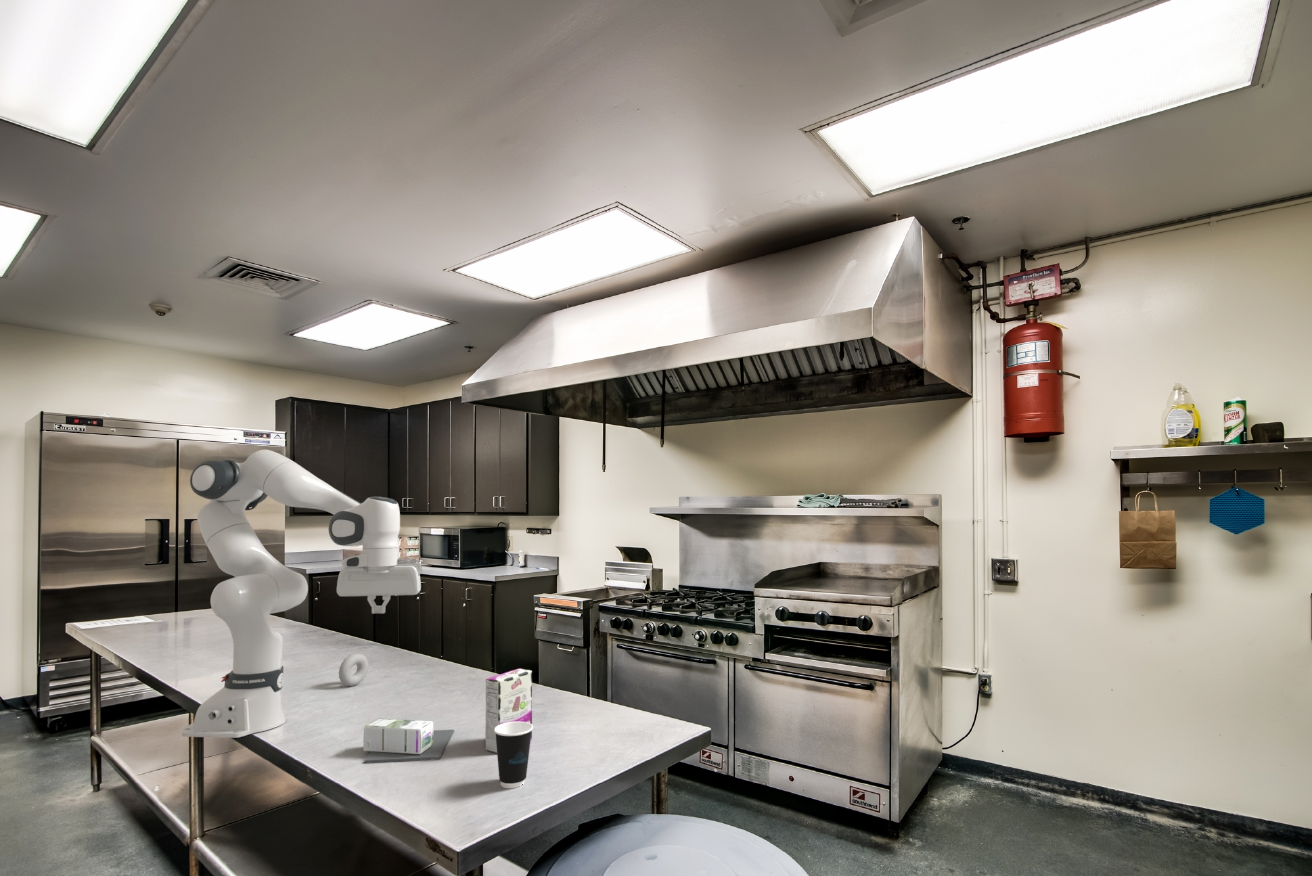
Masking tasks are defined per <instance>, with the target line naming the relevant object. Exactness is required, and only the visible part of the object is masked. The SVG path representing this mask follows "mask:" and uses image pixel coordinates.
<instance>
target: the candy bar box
mask: <svg viewBox="0 0 1312 876" xmlns="http://www.w3.org/2000/svg"><path fill="white" fill-rule="evenodd" d="M532 708H533V671H532V670H530V669H525V668H517V669H513V670H510V671H506V672H504V673H501V674H498V675H494V676H491V677H488V678H486V679H485V745H484V746H485V751H487V752H490V751H492V752H491V753H494V754H497V745H496V733H495V732H494V729H495V727H496V726H498V725H500V724H503V723H507V722H527V723H530V724H532V725H533V709H532ZM532 739H533V731H532V732H531V740H532Z"/></svg>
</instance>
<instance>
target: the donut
mask: <svg viewBox="0 0 1312 876" xmlns="http://www.w3.org/2000/svg"><path fill="white" fill-rule="evenodd" d="M354 665H356V671H355V672H354V673H353V674H352V673H351V671H352V667H354ZM368 671H369V661H368V659H367V657H366V656H365V655H364V654H362V653H356V652H355V653H352V654H349V655H348V656H346V658H344V659H343V660H342V662H341V663H340V666H339V669H338V678H339V680H340V682H341V683H342V684H343V685H344V686H346V687H354V686H357V685H359V684H360V683H362V681H364V679H366V677H367V674H368Z"/></svg>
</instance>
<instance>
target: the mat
mask: <svg viewBox="0 0 1312 876" xmlns="http://www.w3.org/2000/svg"><path fill="white" fill-rule="evenodd" d="M454 733H455V729H438V730H437V729H436V730H434V736H433V745H432V746H431V747H429V748H428V749H426V750H425V751H424V752H422V753H421V754H408V753H389V752H373V751H370V753H369V755H368V756H367V757H366V758H365V760H364V764H376V763H378V764H379V763H380V764H381V763H396V762H399V763H401V762H416V761H418V760H420V761H432V760H431V759H441V758H440V757H442V756H443V754H442V753H444V752H445V750H446V749H447V746H448V745H449V742H450V740H451V738H452V736H453V735H454ZM441 755H442V756H441ZM418 762H419V761H418Z"/></svg>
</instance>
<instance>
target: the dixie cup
mask: <svg viewBox="0 0 1312 876" xmlns="http://www.w3.org/2000/svg"><path fill="white" fill-rule="evenodd" d="M533 730H534V725H533V723H532V724H530V723H527V722H507V723H503V724H500V725H498V726H496V727H495V729H494V732H495V733H496V745H497V753H496V754H497V765H498V766H497V767H498V768H497V769H498V778H499V779H498V780H499V781H500V786H501V787H502V788H503V789H516V787H517V788H519V787H518V786H520V787H522V786H523V785H524V784H525V783H524V782H525V781H526V779H527V775H528V774H527V773H528V764H529V757H530V756H529V755H530V750H531V749H530V748H531V740H532V739H531V732H532V733H533ZM522 784H523V785H522ZM521 785H522V786H521Z"/></svg>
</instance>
